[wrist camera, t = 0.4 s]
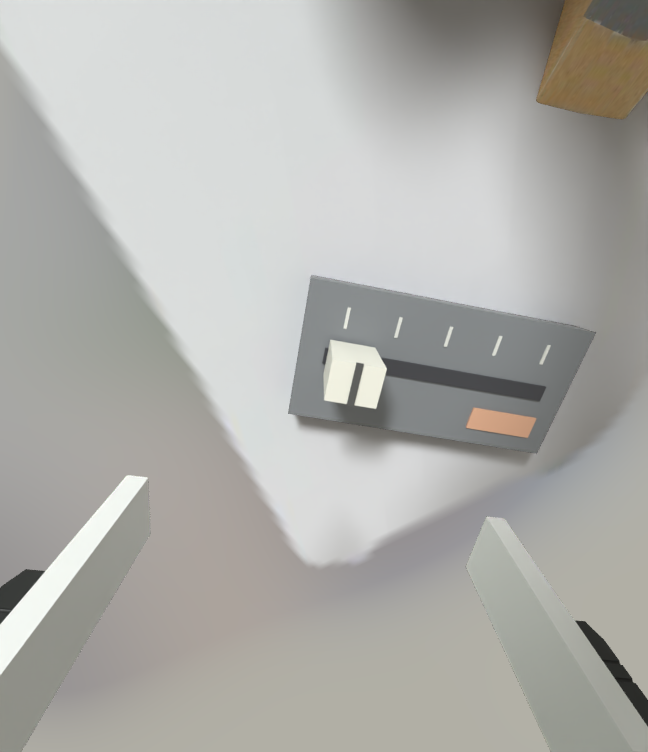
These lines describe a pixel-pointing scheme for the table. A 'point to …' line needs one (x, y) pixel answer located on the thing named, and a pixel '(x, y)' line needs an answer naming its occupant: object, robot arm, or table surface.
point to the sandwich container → (598, 58)
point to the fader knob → (353, 374)
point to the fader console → (440, 365)
